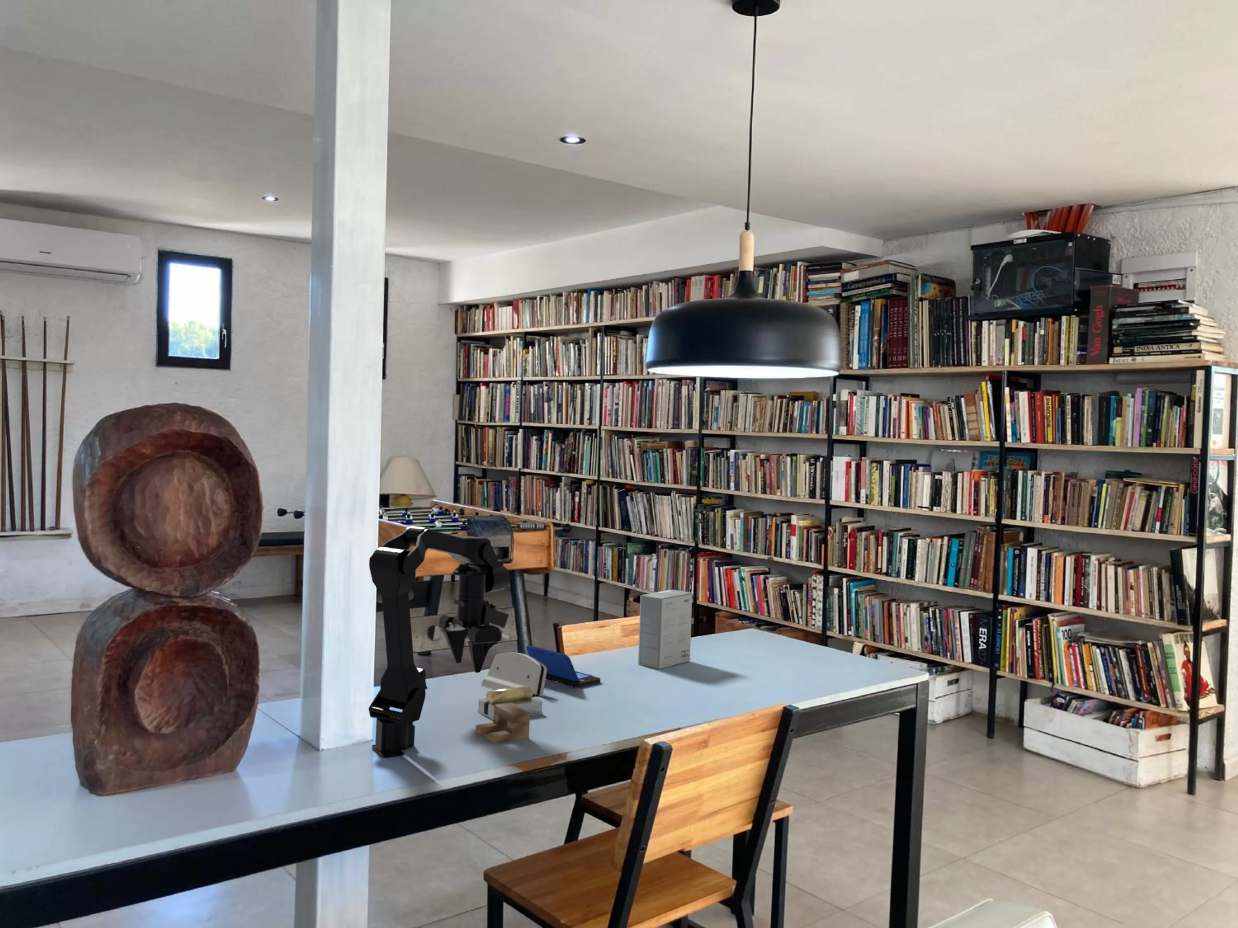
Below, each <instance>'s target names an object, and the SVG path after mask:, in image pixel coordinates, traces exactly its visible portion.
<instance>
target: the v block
mask: <svg viewBox="0 0 1238 928" xmlns="http://www.w3.org/2000/svg"><path fill="white" fill-rule="evenodd" d="M504 703H510V702H504ZM511 703H513V704H515V705H517V706H519V707H521V708H523V709H524V710H526V711H528V712H530V717H534V716H541V715H543V713H544V712H543V700H542V699H539V698H537V697H535V698H533V697H532V698H531V699H526V700H519V701H511ZM496 704H503V703H496ZM496 704H488V703H487V700H486V697H485V698H478V707H477V708H478V709H477V712H478V713H479V714H480V715H482V716H484V717H486V718H487V719H489V720H491V721H493V716H494V705H496Z"/></svg>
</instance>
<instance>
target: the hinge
mask: <svg viewBox="0 0 1238 928" xmlns="http://www.w3.org/2000/svg"><path fill="white" fill-rule="evenodd" d="M546 673H547V668H546V667H545V666H544V665H543V664H542V663H540V662H539V661H538V660H536V659H535V658H533V657H530V656H529V654H528V655H527V654H525V653H520V652H511V651H510V652H507V651H506V652H501V653H496V655H495V656H494V658H493V660H492V662H491V665H490V668H489V670H488V673H487V674H486V675H485V677H484V678H483V679H482V682H481V687H484V688H487V689H491V690H500V689H508V688H516V687H524V686H530V687H531V688H532V692H533V695H536V696H540V697H543V694H544V689H545V683H546V679H545V678H546Z"/></svg>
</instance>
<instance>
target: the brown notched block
mask: <svg viewBox="0 0 1238 928" xmlns="http://www.w3.org/2000/svg"><path fill="white" fill-rule="evenodd" d="M530 719H531V716H530V712H528V711H526V710H524V709H523V708H521V707H519V706H517V705H515V704H513V703H511V702H510V703H503V704H496V705H494V716H493V720H492V722H486V723H479V724H475V733H476V734H477V735H479V737H482V738H483V739H485V740H486V741H488V742H490V743H491V744H493V745H495V744H502V743H507V742H513V741H519V740H526V739H530V726H531V725H530V723H531V722H530Z"/></svg>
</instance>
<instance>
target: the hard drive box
mask: <svg viewBox="0 0 1238 928" xmlns="http://www.w3.org/2000/svg"><path fill="white" fill-rule="evenodd" d="M639 600H640V602H639V605H640V608H639V627H638V628H639V630H638V631H639V633H638V657H637V659H638V660H637V664H638V666H642V667H647V668H651V669H656V670H661V669H665V668H668V667H672V666H677V665H680V664H683V663H687V662H690V661H691V641H692V637H691V636H692V615H693V614H692V612H693V610H692V608H693V606H692V605H693V593H692V592H690V591H683V590H678V589H677V590H676V589H668V590H662V591H657V592H651V593H646V594H645V593H644V594H642V595H641V594H640V599H639Z"/></svg>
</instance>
